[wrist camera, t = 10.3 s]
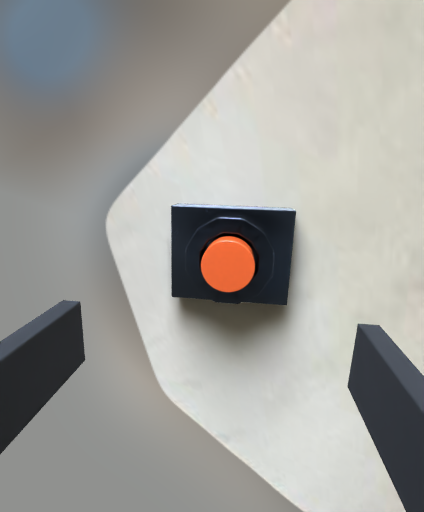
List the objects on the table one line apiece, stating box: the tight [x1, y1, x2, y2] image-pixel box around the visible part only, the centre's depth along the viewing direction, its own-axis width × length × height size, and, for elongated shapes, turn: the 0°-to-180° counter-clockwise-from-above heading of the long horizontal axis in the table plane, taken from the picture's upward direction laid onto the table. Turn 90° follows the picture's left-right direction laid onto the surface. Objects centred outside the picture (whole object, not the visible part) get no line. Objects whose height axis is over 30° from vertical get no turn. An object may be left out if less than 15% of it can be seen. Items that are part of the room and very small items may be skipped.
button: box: [201, 236, 255, 292], centre depth 23 cm, size 4×4×2 cm
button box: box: [171, 204, 296, 305], centre depth 26 cm, size 10×8×4 cm
